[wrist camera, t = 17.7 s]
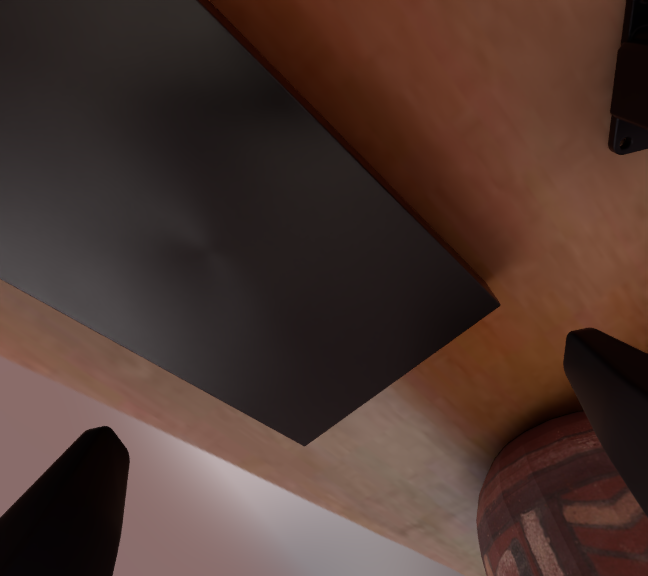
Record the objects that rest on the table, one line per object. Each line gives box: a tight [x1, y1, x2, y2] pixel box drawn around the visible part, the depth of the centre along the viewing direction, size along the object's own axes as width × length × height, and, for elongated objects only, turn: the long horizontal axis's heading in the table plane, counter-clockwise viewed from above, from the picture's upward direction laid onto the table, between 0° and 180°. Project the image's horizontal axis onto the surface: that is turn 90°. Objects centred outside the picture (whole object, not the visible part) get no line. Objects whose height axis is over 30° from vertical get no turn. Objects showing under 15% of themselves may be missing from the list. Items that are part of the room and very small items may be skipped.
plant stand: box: [0, 0, 500, 446], centre depth 17 cm, size 36×14×2 cm, turn 45°
